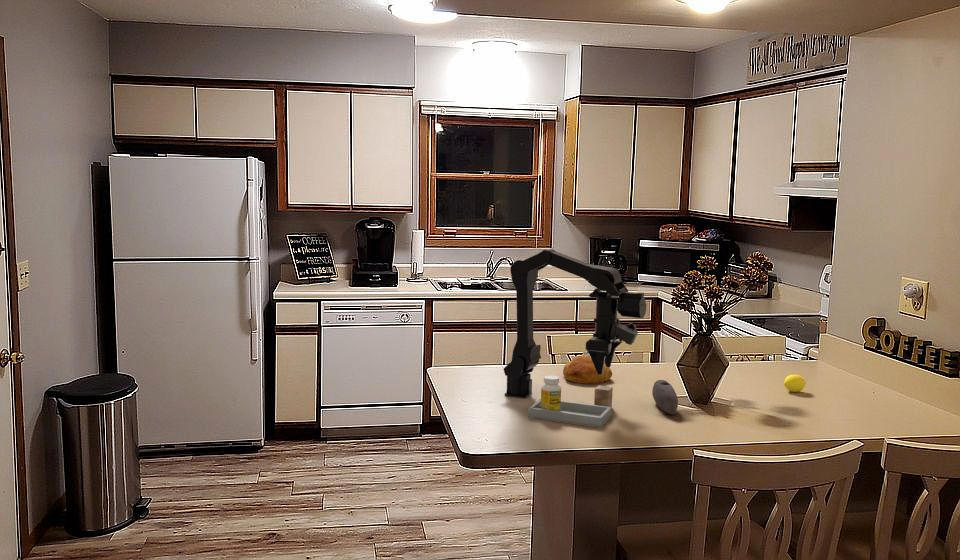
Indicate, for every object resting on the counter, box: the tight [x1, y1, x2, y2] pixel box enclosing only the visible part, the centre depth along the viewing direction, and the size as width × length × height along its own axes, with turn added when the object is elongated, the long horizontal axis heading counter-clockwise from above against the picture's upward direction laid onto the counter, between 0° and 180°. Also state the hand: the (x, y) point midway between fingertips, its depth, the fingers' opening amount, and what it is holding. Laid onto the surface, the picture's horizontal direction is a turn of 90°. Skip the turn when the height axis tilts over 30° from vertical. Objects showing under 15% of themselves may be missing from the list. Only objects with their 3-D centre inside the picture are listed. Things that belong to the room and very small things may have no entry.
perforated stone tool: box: [652, 379, 679, 415], centre depth 221 cm, size 15×5×7 cm, turn 0°
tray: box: [528, 398, 612, 429], centre depth 213 cm, size 20×11×3 cm, turn 67°
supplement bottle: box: [540, 375, 562, 411], centre depth 214 cm, size 5×5×10 cm
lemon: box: [783, 374, 807, 393], centre depth 242 cm, size 7×5×5 cm
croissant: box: [562, 355, 613, 385], centre depth 253 cm, size 14×16×8 cm
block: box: [593, 384, 614, 409], centre depth 221 cm, size 4×4×6 cm
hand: (604, 370), depth 220 cm, fingers open, 9 cm apart
